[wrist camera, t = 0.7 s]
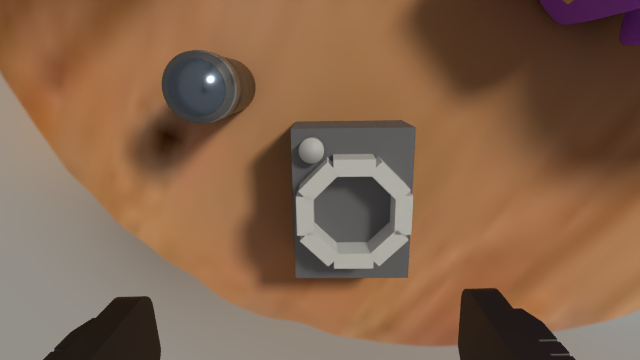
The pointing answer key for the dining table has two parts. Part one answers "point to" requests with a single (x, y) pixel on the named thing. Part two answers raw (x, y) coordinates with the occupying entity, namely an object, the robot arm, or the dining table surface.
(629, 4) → the toy camera
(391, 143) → the camera body
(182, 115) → the lens
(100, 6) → the dining table surface
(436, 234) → the dining table surface
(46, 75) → the dining table surface
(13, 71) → the dining table surface
